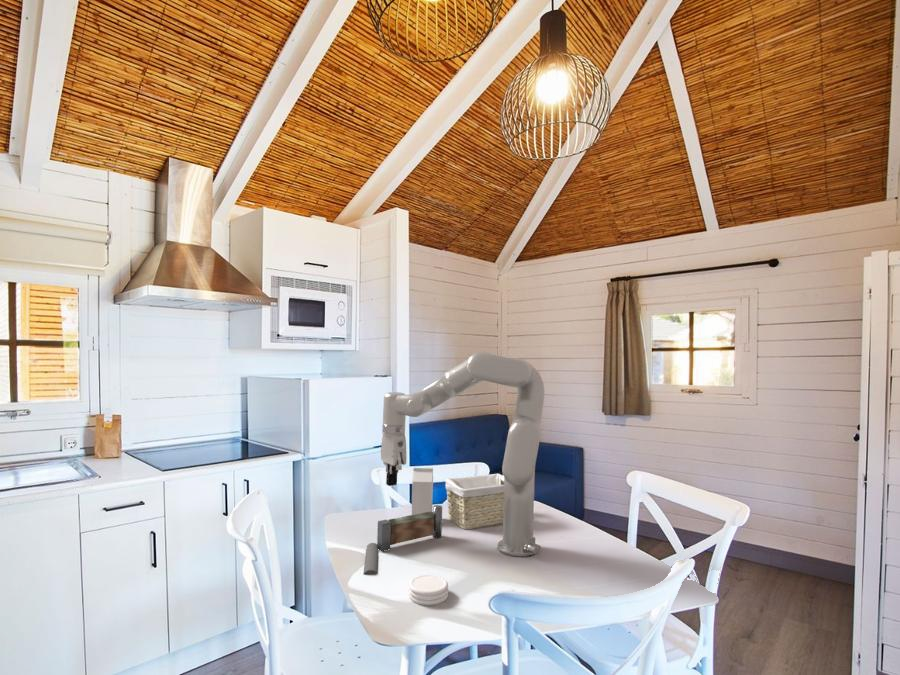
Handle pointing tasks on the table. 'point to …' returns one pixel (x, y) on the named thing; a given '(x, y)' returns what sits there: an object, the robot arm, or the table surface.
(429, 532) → the wooden board
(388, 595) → the table surface
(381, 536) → the gate posts
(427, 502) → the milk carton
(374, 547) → the half round rod
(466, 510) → the storage basket
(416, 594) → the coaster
